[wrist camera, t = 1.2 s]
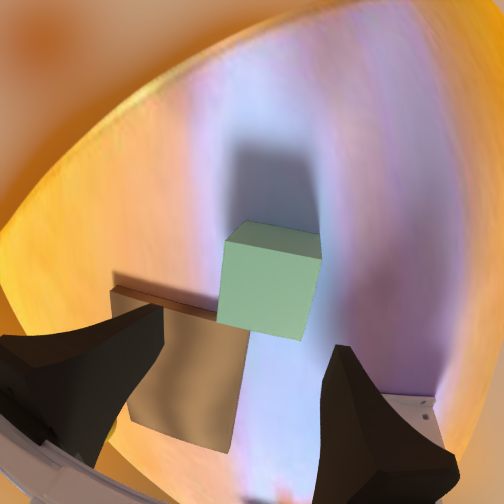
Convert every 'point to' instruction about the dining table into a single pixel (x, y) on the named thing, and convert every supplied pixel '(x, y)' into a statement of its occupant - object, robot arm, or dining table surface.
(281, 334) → the block
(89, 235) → the dining table surface
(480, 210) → the dining table surface
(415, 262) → the dining table surface
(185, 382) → the board
